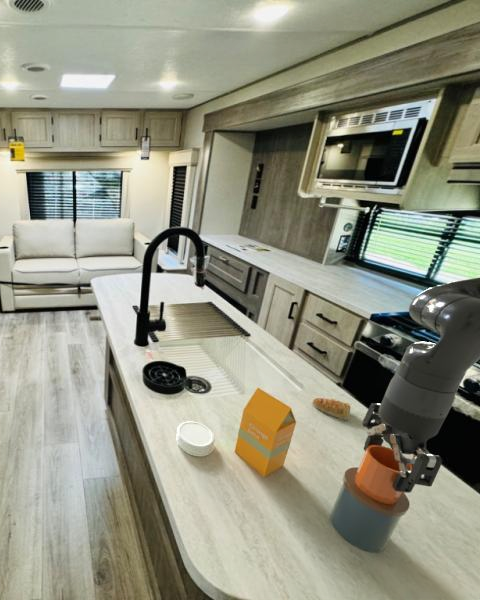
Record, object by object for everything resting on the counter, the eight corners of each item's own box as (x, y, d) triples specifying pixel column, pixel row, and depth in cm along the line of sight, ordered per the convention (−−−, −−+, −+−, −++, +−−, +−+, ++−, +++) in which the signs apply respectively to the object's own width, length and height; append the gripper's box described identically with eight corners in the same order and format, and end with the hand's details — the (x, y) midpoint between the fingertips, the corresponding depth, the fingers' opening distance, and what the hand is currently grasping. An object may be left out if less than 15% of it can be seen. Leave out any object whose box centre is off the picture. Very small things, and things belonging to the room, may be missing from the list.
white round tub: (221, 451, 85) (223, 442, 84) (190, 461, 82) (191, 451, 81) (197, 426, 94) (199, 417, 92) (169, 434, 91) (170, 425, 90)
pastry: (311, 410, 99) (314, 401, 98) (311, 399, 104) (314, 389, 103) (349, 422, 94) (353, 412, 93) (347, 409, 99) (351, 400, 98)
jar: (369, 511, 69) (387, 471, 65) (399, 559, 61) (423, 517, 56) (320, 502, 71) (335, 463, 67) (342, 548, 63) (361, 506, 58)
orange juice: (253, 441, 88) (267, 383, 81) (283, 465, 80) (302, 403, 73) (233, 451, 85) (246, 391, 78) (263, 477, 77) (281, 414, 70)
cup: (384, 477, 64) (397, 447, 61) (406, 507, 58) (423, 476, 55) (347, 471, 65) (359, 442, 62) (366, 500, 59) (380, 469, 56)
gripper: (481, 436, 46) (438, 510, 52) (411, 379, 59) (382, 444, 65) (421, 428, 48) (385, 501, 54) (365, 375, 61) (341, 438, 67)
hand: (383, 469), depth 60 cm, fingers open, 8 cm apart
